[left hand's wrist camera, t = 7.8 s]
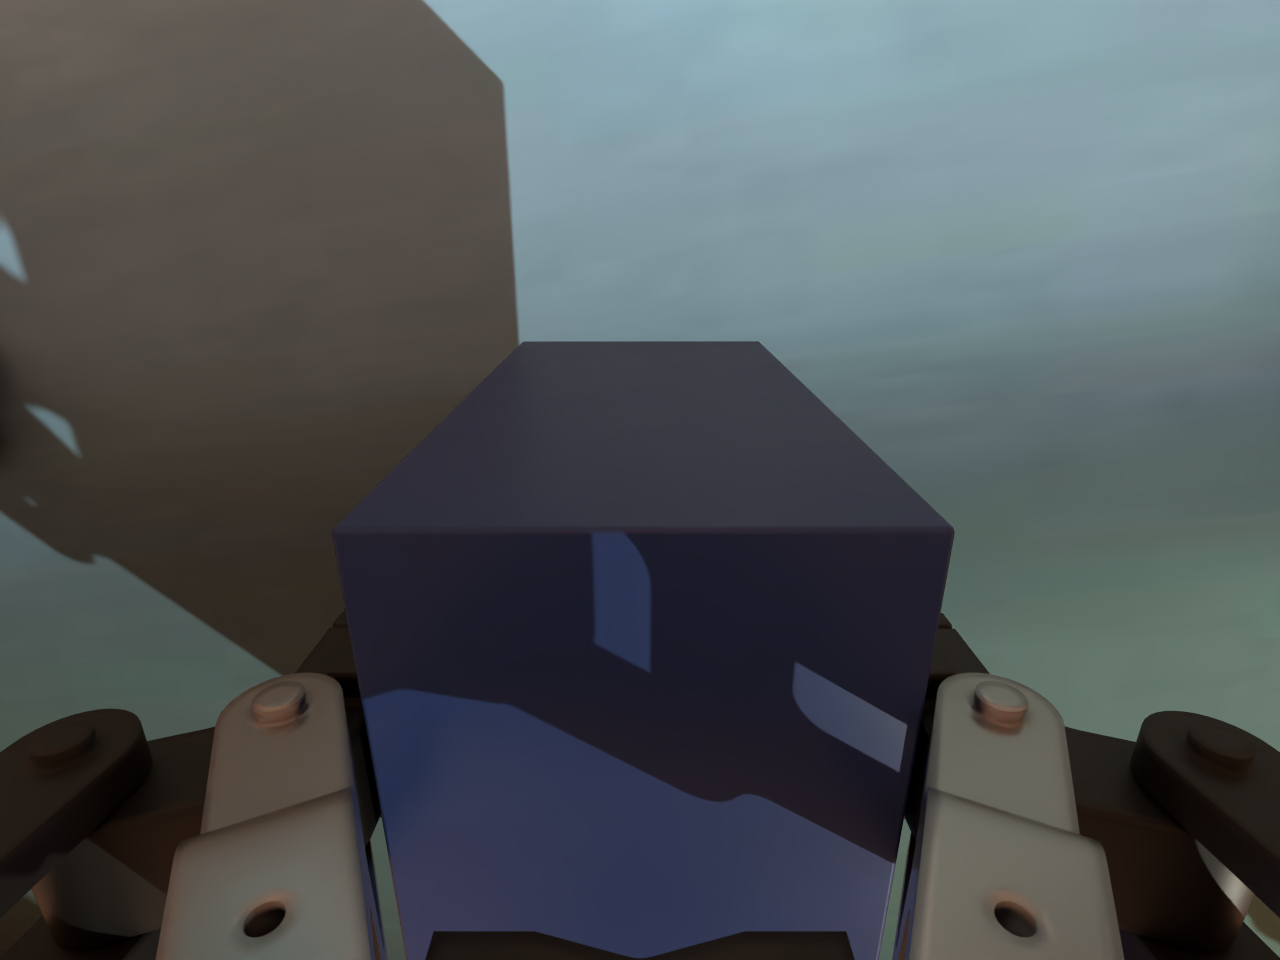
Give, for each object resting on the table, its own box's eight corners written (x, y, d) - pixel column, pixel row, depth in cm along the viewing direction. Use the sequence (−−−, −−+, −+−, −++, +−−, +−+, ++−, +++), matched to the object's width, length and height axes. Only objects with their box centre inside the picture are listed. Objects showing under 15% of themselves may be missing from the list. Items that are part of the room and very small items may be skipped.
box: (522, 341, 17) (328, 529, 6) (760, 340, 17) (959, 527, 6) (564, 1048, 27) (515, 1590, 16) (716, 1049, 27) (767, 1590, 16)
